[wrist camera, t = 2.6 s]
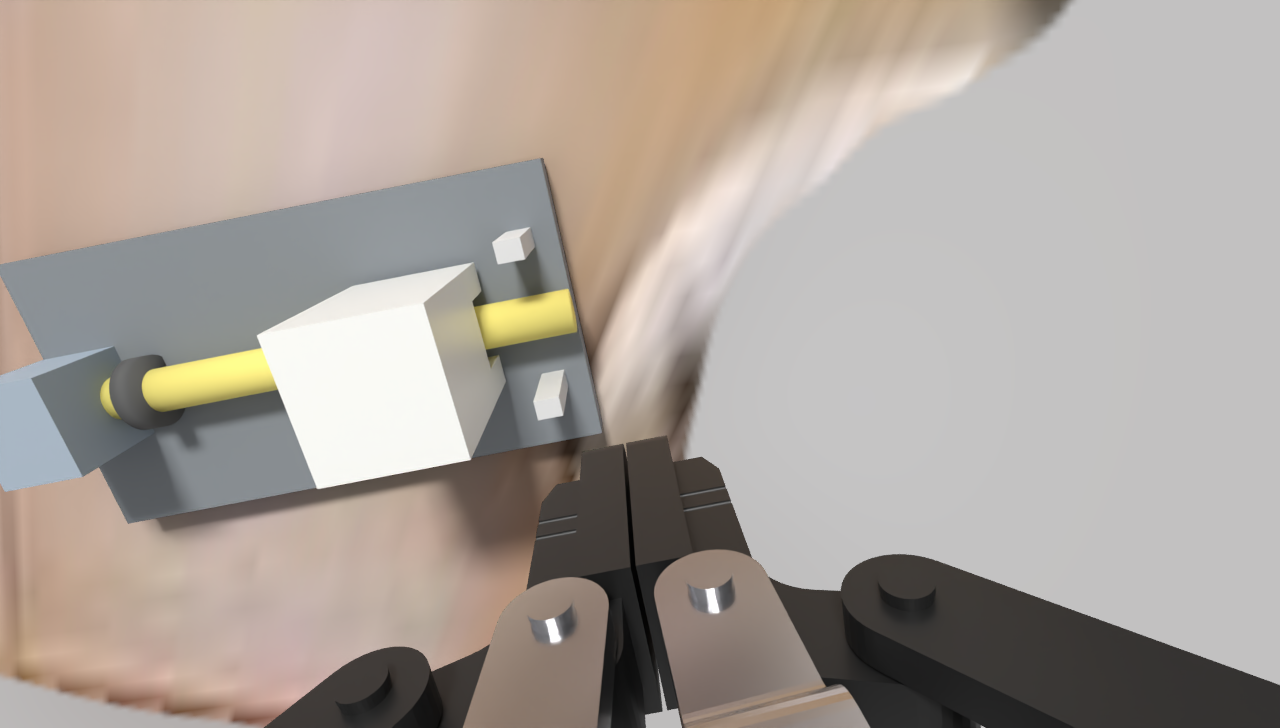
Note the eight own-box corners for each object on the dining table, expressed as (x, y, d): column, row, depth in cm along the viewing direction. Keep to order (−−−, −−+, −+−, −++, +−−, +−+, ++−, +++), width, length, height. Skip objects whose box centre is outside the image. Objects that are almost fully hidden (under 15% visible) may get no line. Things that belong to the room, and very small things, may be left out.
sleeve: (473, 262, 26) (423, 303, 19) (505, 381, 27) (470, 459, 20) (352, 286, 26) (256, 335, 19) (392, 403, 27) (317, 488, 20)
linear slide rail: (543, 158, 26) (528, 158, 21) (602, 422, 30) (601, 475, 25) (21, 260, 26) (-114, 285, 21) (146, 509, 30) (55, 579, 25)
